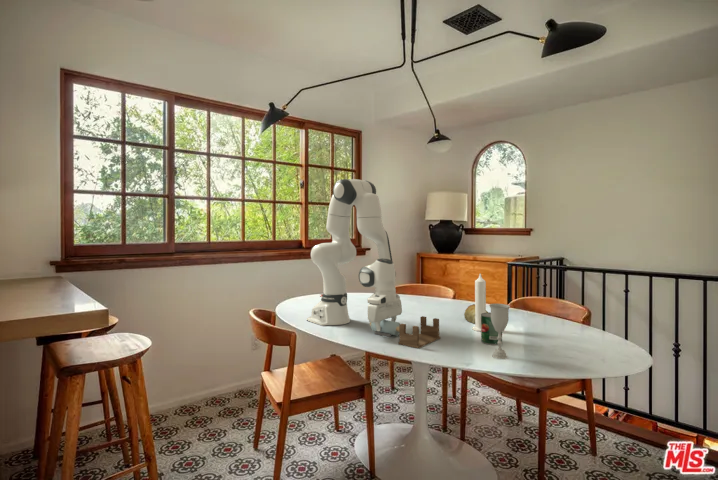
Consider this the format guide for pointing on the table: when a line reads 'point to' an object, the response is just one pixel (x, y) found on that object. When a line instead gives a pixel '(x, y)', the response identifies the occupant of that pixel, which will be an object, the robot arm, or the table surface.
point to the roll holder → (424, 337)
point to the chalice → (499, 325)
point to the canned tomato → (488, 330)
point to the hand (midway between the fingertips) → (385, 328)
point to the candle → (479, 301)
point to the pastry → (470, 314)
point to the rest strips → (383, 334)
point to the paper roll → (387, 327)
